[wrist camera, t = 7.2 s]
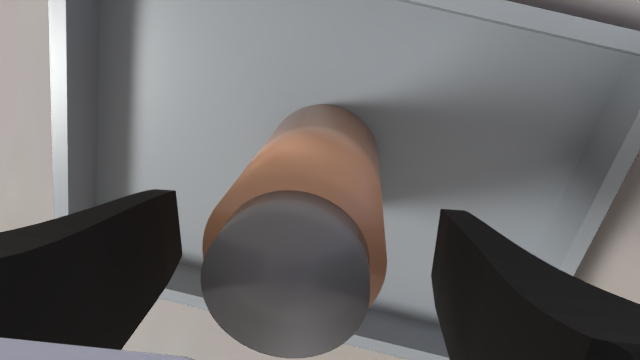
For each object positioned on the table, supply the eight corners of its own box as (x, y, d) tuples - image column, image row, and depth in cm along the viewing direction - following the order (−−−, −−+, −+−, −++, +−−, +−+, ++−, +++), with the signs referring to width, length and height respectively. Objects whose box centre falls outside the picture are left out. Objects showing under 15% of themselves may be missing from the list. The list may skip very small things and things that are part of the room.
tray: (644, 39, 15) (695, 44, 13) (498, 343, 20) (515, 385, 18) (94, -88, 15) (45, -107, 13) (90, 243, 21) (55, 273, 18)
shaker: (378, 101, 16) (389, 193, 8) (379, 208, 18) (389, 375, 10) (263, 106, 17) (164, 196, 8) (274, 209, 18) (200, 368, 10)
